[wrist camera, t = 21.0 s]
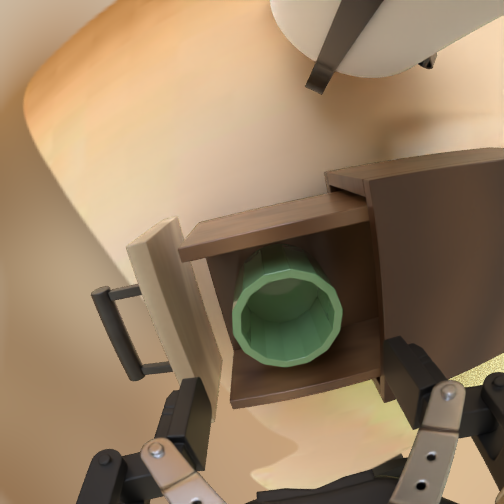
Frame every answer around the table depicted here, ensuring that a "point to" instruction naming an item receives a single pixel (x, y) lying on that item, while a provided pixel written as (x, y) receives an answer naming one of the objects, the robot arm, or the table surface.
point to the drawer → (224, 278)
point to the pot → (284, 307)
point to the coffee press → (377, 33)
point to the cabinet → (436, 253)
